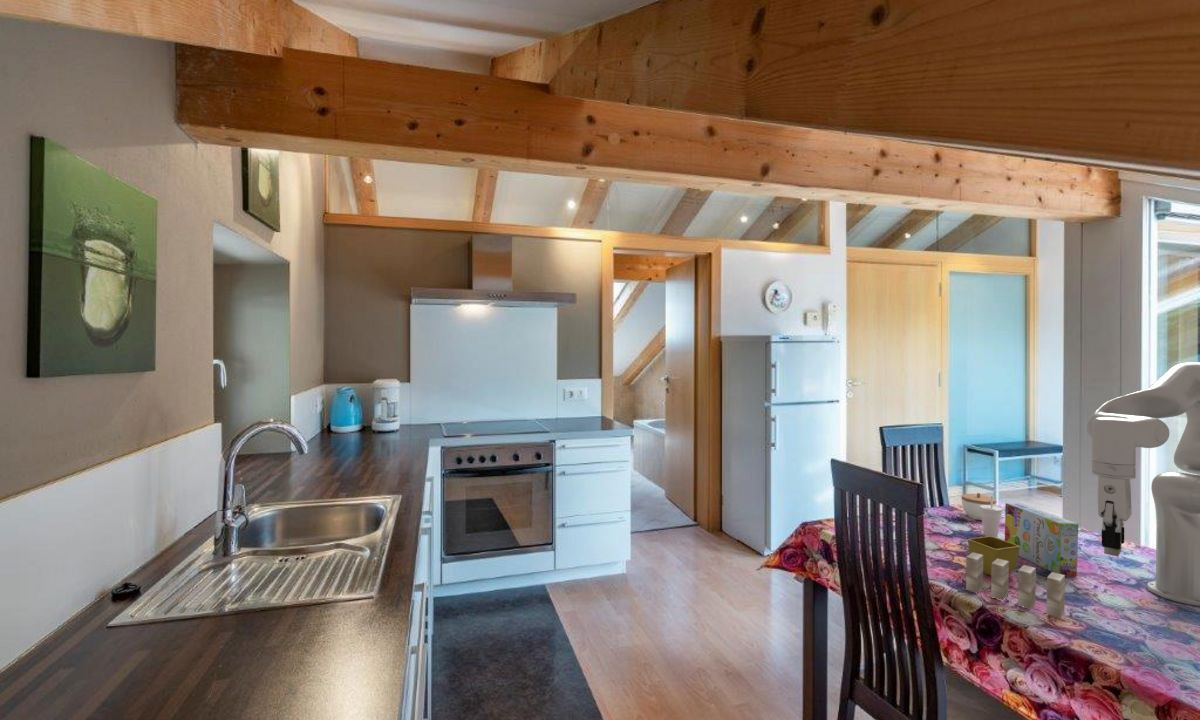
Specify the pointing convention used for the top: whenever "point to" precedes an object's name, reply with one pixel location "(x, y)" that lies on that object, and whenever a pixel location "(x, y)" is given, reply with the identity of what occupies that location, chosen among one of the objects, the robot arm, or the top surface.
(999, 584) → the domino
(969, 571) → the domino
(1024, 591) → the domino
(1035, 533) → the snack box
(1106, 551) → the domino
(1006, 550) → the flower pot
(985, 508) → the smoothie
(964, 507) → the lidded jar
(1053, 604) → the domino
